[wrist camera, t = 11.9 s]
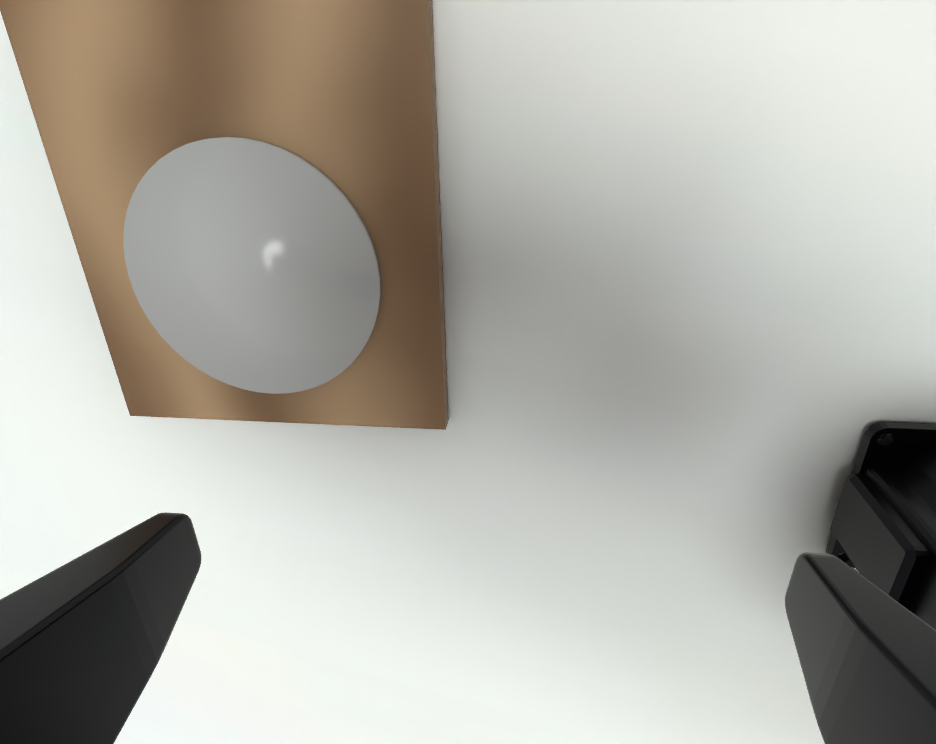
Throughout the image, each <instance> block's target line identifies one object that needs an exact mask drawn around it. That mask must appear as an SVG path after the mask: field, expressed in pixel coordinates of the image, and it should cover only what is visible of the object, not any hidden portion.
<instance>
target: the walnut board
mask: <svg viewBox="0 0 936 744" xmlns="http://www.w3.org/2000/svg"><path fill="white" fill-rule="evenodd" d="M0 11H1V14H2V17H3V21H4V24H5V27H6V30H7V33H8V36H9V39H10V42H11V45H12V49H13V52H14V55H15V58H16V61H17V64H18V67H19V70H20V74H21V77H22V80H23V83H24V86H25V89H26V92H27V95H28V99H29V102H30V105H31V108H32V111H33V114H34V117H35V120H36V123H37V127H38V130H39V133H40V136H41V139H42V142H43V145H44V148H45V152H46V155H47V158H48V161H49V164H50V167H51V170H52V173H53V176H54V180H55V183H56V186H57V189H58V192H59V195H60V198H61V201H62V205H63V208H64V211H65V214H66V217H67V220H68V223H69V226H70V229H71V233H72V236H73V239H74V242H75V245H76V248H77V251H78V254H79V258H80V261H81V264H82V267H83V270H84V273H85V276H86V279H87V282H88V286H89V289H90V292H91V295H92V298H93V301H94V304H95V307H96V311H97V314H98V317H99V320H100V323H101V326H102V329H103V332H104V336H105V339H106V342H107V345H108V348H109V351H110V354H111V357H112V360H113V364H114V367H115V370H116V373H117V376H118V379H119V382H120V385H121V389H122V392H123V395H124V398H125V401H126V404H127V407H128V410H129V413H130V416H151V417H174V418H196V419H219V420H242V421H264V422H287V423H310V424H332V425H355V426H377V427H400V428H423V429H445V430H446V426H447V422H448V393H447V368H446V343H445V317H444V292H443V267H442V241H441V216H440V191H439V166H438V140H437V115H436V90H435V64H434V39H433V14H432V0H0ZM229 136H231V137H247V138H252V139H257V140H262V141H266V142H269V143H272V144H275V145H278V146H281V147H284V148H286V149H288V150H290V151H292V152H294V153H296V154H298V155H300V156H302V157H303V158H305V159H306V160H308V161H309V162H311V163H312V164H314V165H315V166H317V167H318V168H319V169H320V170H321V171H323V172H324V173H325V174H326V175H327V176H329V177H330V178H331V179H332V180H333V181H334V182H335V183H336V184H337V185H338V186H339V187H340V188H341V190H342V191H343V192H344V193H345V194H346V195H347V196H348V198H349V199H350V201H351V202H352V203H353V205H354V206H355V207H356V209H357V210H358V212H359V214H360V215H361V217H362V219H363V221H364V222H365V224H366V226H367V228H368V231H369V233H370V235H371V238H372V240H373V243H374V246H375V249H376V253H377V256H378V260H379V266H380V273H381V302H380V310H379V314H378V318H377V321H376V325H375V327H374V329H373V332H372V334H371V336H370V338H369V340H368V342H367V343H366V345H365V346H364V348H363V350H362V351H361V353H360V354H359V355H358V356H357V358H356V359H355V360H354V361H353V362H352V364H351V365H350V366H348V367H347V368H346V369H345V370H344V371H343V372H342V373H340V374H339V375H338V376H336V377H334V378H333V379H331V380H330V381H328V382H326V383H324V384H321V385H319V386H317V387H314V388H311V389H308V390H304V391H300V392H293V393H283V394H270V393H260V392H254V391H249V390H244V389H241V388H238V387H235V386H232V385H229V384H226V383H224V382H222V381H219V380H217V379H215V378H213V377H211V376H209V375H208V374H206V373H204V372H202V371H201V370H199V369H197V368H196V367H195V366H193V365H192V364H191V363H189V362H188V361H186V360H185V359H184V358H183V357H182V356H180V355H179V354H178V353H177V352H176V351H175V350H174V349H172V347H171V346H170V345H169V344H168V343H167V342H166V341H165V340H164V339H163V338H162V337H161V336H160V334H159V333H158V332H157V330H156V329H155V328H154V326H153V325H152V324H151V322H150V321H149V319H148V318H147V316H146V314H145V313H144V311H143V309H142V308H141V306H140V304H139V302H138V299H137V297H136V295H135V293H134V291H133V288H132V285H131V282H130V279H129V276H128V272H127V267H126V263H125V256H124V246H123V237H124V223H125V218H126V212H127V209H128V206H129V203H130V200H131V197H132V195H133V193H134V191H135V189H136V187H137V185H138V183H139V182H140V180H141V179H142V178H143V176H144V175H145V174H146V172H147V171H148V170H149V169H150V168H151V167H152V166H153V165H154V164H155V163H156V162H157V161H158V160H159V159H160V158H162V157H164V156H165V155H167V154H168V153H170V152H171V151H173V150H174V149H177V148H179V147H181V146H184V145H186V144H188V143H192V142H196V141H200V140H204V139H209V138H217V137H229Z"/></svg>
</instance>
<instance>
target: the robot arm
mask: <svg viewBox="0 0 936 744" xmlns="http://www.w3.org/2000/svg"><path fill="white" fill-rule="evenodd" d="M883 434H887V436H886V437H885V438H883V439H881V440H878V439H879V437H880V436H882V435H883ZM831 530H832V534H831V537H830V540H829V543H828V546H827V549H826V554H820V553H803V554H801V555H799V557H798V558H797V560H796V563H795V566H794V569H793V573H792V576H791V579H790V582H789V586H788V589H787V592H786V597H785V607H786V613H787V617H788V620H789V624H790V628H791V631H792V635H793V638H794V642H795V646H796V649H797V653H798V656H799V660H800V664H801V667H802V671H803V674H804V678H805V682H806V685H807V689H808V692H809V696H810V700H811V703H812V707H813V710H814V713H815V717H816V720H817V723H818V726H819V729H820V731H821V734H822V737H823V740H824V742H825V744H936V424H923V423H898V422H879V423H876V424H873V425H872V426H870V427H869V428H868V429H867V431H866V432H865V435H864V438H863V441H862V444H861V447H860V450H859V453H858V456H857V459H856V462H855V465H854V468H853V471H852V474H851V475H850V476H849V477H848V478H847V480H846V483H845V486H844V489H843V492H842V495H841V498H840V501H839V504H838V507H837V510H836V513H835V516H834V519H833V522H832V525H831ZM843 552H845V553H843ZM840 553H843V554H841V555H839V554H840ZM200 564H201V551H200V548H199V545H198V541H197V538H196V534H195V531H194V528H193V524H192V521H191V519H190V518H189V517H188V516H187V515H185V514H179V513H160V514H157V515H155V516H153V517H151V518H150V519H148V520H146V521H144V522H142V523H140V524H139V525H137V526H135V527H133V528H131V529H129V530H128V531H126V532H124V533H122V534H120V535H118V536H117V537H115V538H113V539H111V540H109V541H107V542H105V543H104V544H102V545H100V546H98V547H96V548H94V549H93V550H91V551H89V552H87V553H85V554H83V555H82V556H80V557H78V558H76V559H74V560H72V561H71V562H69V563H67V564H65V565H63V566H61V567H59V568H58V569H56V570H54V571H52V572H50V573H48V574H47V575H45V576H43V577H41V578H39V579H37V580H36V581H34V582H32V583H30V584H28V585H26V586H25V587H23V588H21V589H19V590H17V591H15V592H13V593H12V594H10V595H8V596H6V597H4V598H2V599H1V600H0V744H114V742H115V740H116V738H117V736H118V735H119V733H120V731H121V729H122V727H123V726H124V724H125V722H126V720H127V718H128V717H129V715H130V713H131V711H132V709H133V708H134V706H135V704H136V702H137V700H138V699H139V697H140V695H141V693H142V691H143V690H144V688H145V686H146V684H147V682H148V681H149V679H150V677H151V675H152V673H153V671H154V669H155V667H156V665H157V664H158V661H159V659H160V657H161V655H162V653H163V651H164V649H165V647H166V644H167V642H168V640H169V638H170V635H171V633H172V631H173V628H174V626H175V624H176V621H177V619H178V617H179V615H180V612H181V610H182V608H183V605H184V603H185V601H186V599H187V596H188V594H189V592H190V589H191V587H192V585H193V583H194V580H195V578H196V576H197V573H198V571H199V568H200ZM851 567H854V568H856V569H857V570H858V572H859V573H860V574H859V573H858V572H857V571H855V570H854V569H852V568H851Z"/></svg>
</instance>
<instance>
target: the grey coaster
mask: <svg viewBox="0 0 936 744" xmlns="http://www.w3.org/2000/svg"><path fill="white" fill-rule="evenodd" d="M123 246H124V256H125V263H126V267H127V272H128V276H129V279H130V282H131V285H132V288H133V291H134V293H135V295H136V297H137V299H138V302H139V304H140V306H141V308H142V309H143V311H144V313H145V314H146V316H147V318H148V319H149V321H150V322H151V324H152V325H153V326H154V328H155V329H156V330H157V332H158V333H159V334H160V336H161V337H162V338H163V339H164V340H165V341H166V342H167V343H168V344H169V345H170V346H171V347H172V349H174V350H175V351H176V352H177V353H178V354H179V355H180V356H182V357H183V358H184V359H185V360H186V361H188V362H189V363H191V364H192V365H193V366H195V367H196V368H197V369H199V370H201V371H202V372H204V373H206V374H208V375H209V376H211V377H213V378H215V379H217V380H219V381H222V382H224V383H226V384H229V385H232V386H235V387H238V388H241V389H244V390H249V391H254V392H260V393H270V394H283V393H293V392H300V391H304V390H308V389H311V388H314V387H317V386H319V385H321V384H324V383H326V382H328V381H330V380H331V379H333V378H334V377H336V376H338V375H339V374H340V373H342V372H343V371H344V370H345V369H346V368H347V367H348V366H350V365H351V364H352V362H353V361H354V360H355V359H356V358H357V356H358V355H359V354H360V353H361V351H362V350H363V348H364V346H365V345H366V343H367V342H368V340H369V338H370V336H371V334H372V332H373V329H374V327H375V325H376V321H377V318H378V314H379V310H380V302H381V273H380V266H379V260H378V256H377V253H376V249H375V246H374V243H373V240H372V238H371V235H370V233H369V231H368V228H367V226H366V224H365V222H364V221H363V219H362V217H361V215H360V214H359V212H358V210H357V209H356V207H355V206H354V205H353V203H352V202H351V201H350V199H349V198H348V196H347V195H346V194H345V193H344V192H343V191H342V190H341V188H340V187H339V186H338V185H337V184H336V183H335V182H334V181H333V180H332V179H331V178H330V177H329V176H327V175H326V174H325V173H324V172H323V171H321V170H320V169H319V168H318V167H317V166H315V165H314V164H312V163H311V162H309V161H308V160H306V159H305V158H303V157H302V156H300V155H298V154H296V153H294V152H292V151H290V150H288V149H286V148H284V147H281V146H278V145H275V144H272V143H269V142H266V141H262V140H257V139H252V138H247V137H231V136H229V137H217V138H209V139H204V140H200V141H196V142H192V143H188V144H186V145H184V146H181V147H179V148H177V149H174V150H173V151H171V152H170V153H168V154H167V155H165V156H164V157H162V158H160V159H159V160H158V161H157V162H156V163H155V164H154V165H153V166H152V167H151V168H150V169H149V170H148V171H147V172H146V174H145V175H144V176H143V178H142V179H141V180H140V182H139V183H138V185H137V187H136V189H135V191H134V193H133V195H132V197H131V200H130V203H129V206H128V209H127V212H126V218H125V223H124V237H123Z"/></svg>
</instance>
